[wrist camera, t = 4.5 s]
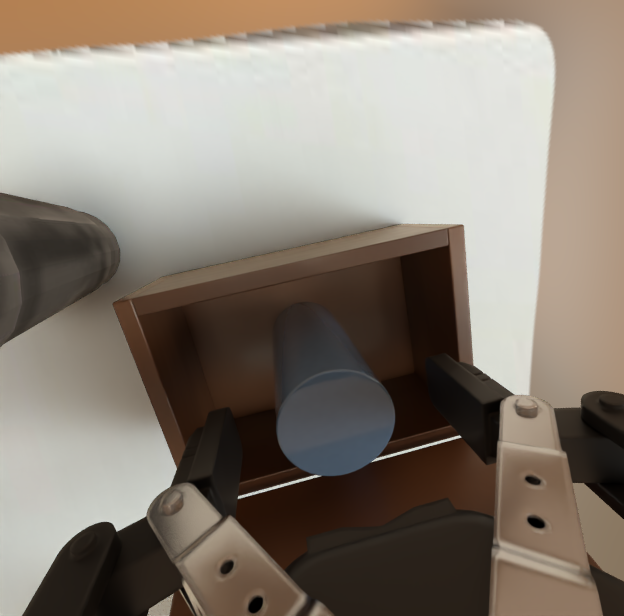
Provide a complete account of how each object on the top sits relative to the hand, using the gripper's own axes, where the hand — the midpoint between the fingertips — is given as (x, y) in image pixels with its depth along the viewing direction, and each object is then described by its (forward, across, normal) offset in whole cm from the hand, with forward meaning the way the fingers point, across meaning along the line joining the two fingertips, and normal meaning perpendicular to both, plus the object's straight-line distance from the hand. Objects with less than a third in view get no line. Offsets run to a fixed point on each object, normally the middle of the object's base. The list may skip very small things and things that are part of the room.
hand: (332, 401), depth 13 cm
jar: (+9, 0, 0) cm, 9 cm away
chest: (+9, 0, 0) cm, 9 cm away
